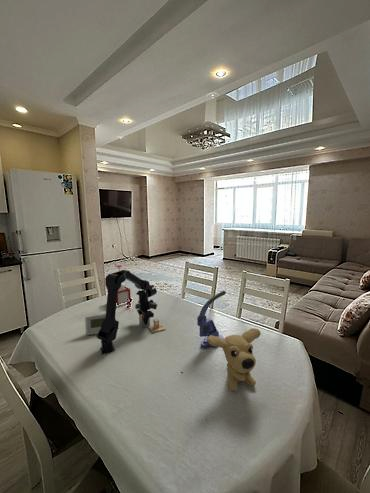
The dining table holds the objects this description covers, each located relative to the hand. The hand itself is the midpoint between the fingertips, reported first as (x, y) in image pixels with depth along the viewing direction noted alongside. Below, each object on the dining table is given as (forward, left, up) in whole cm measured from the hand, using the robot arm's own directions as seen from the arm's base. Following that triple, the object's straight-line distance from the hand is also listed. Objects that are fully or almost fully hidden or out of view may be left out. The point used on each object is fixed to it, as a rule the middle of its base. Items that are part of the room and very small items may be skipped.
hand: (144, 323), depth 149 cm
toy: (-67, -18, -2) cm, 69 cm away
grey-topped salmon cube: (0, 0, -2) cm, 2 cm away
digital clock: (+6, +26, -2) cm, 27 cm away
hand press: (-38, -26, -2) cm, 46 cm away
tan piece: (-8, -5, -2) cm, 10 cm away
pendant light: (+46, +4, -2) cm, 46 cm away
